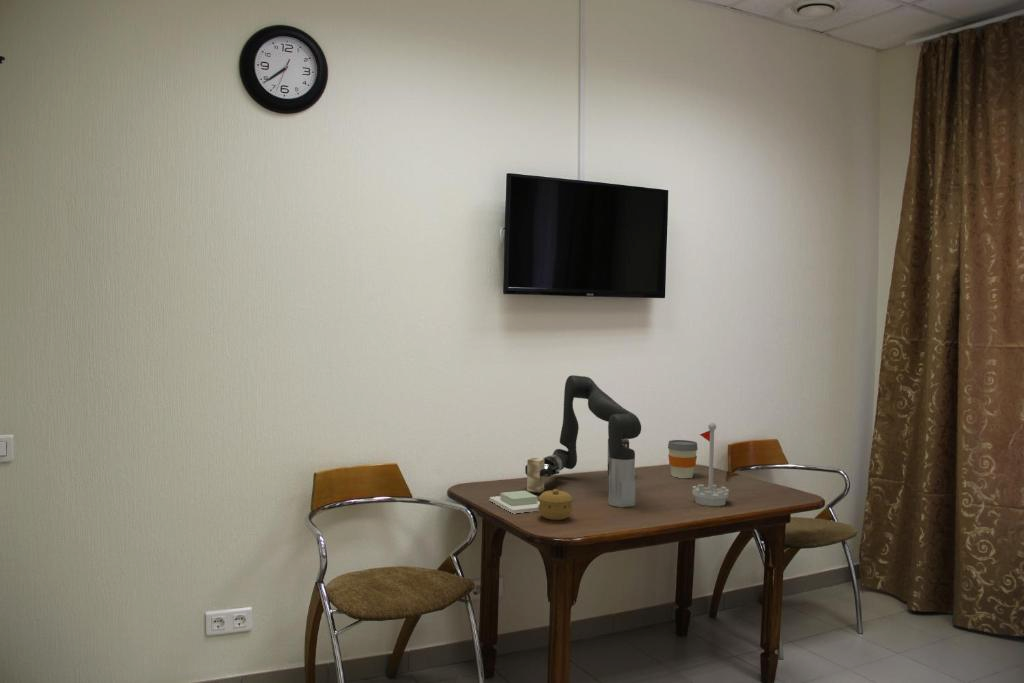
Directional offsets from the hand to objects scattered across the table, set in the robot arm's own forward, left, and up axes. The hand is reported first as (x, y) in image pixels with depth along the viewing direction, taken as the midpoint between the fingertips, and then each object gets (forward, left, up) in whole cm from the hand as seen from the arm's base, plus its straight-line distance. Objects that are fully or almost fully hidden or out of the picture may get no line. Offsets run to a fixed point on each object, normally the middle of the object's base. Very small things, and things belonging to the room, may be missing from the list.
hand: (533, 473), depth 293 cm
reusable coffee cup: (+7, -76, -9) cm, 76 cm away
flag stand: (-34, -57, -9) cm, 67 cm away
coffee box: (+16, -49, -9) cm, 52 cm away
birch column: (+1, -2, -7) cm, 7 cm away
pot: (-32, +8, -9) cm, 35 cm away
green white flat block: (-12, +12, -9) cm, 19 cm away
